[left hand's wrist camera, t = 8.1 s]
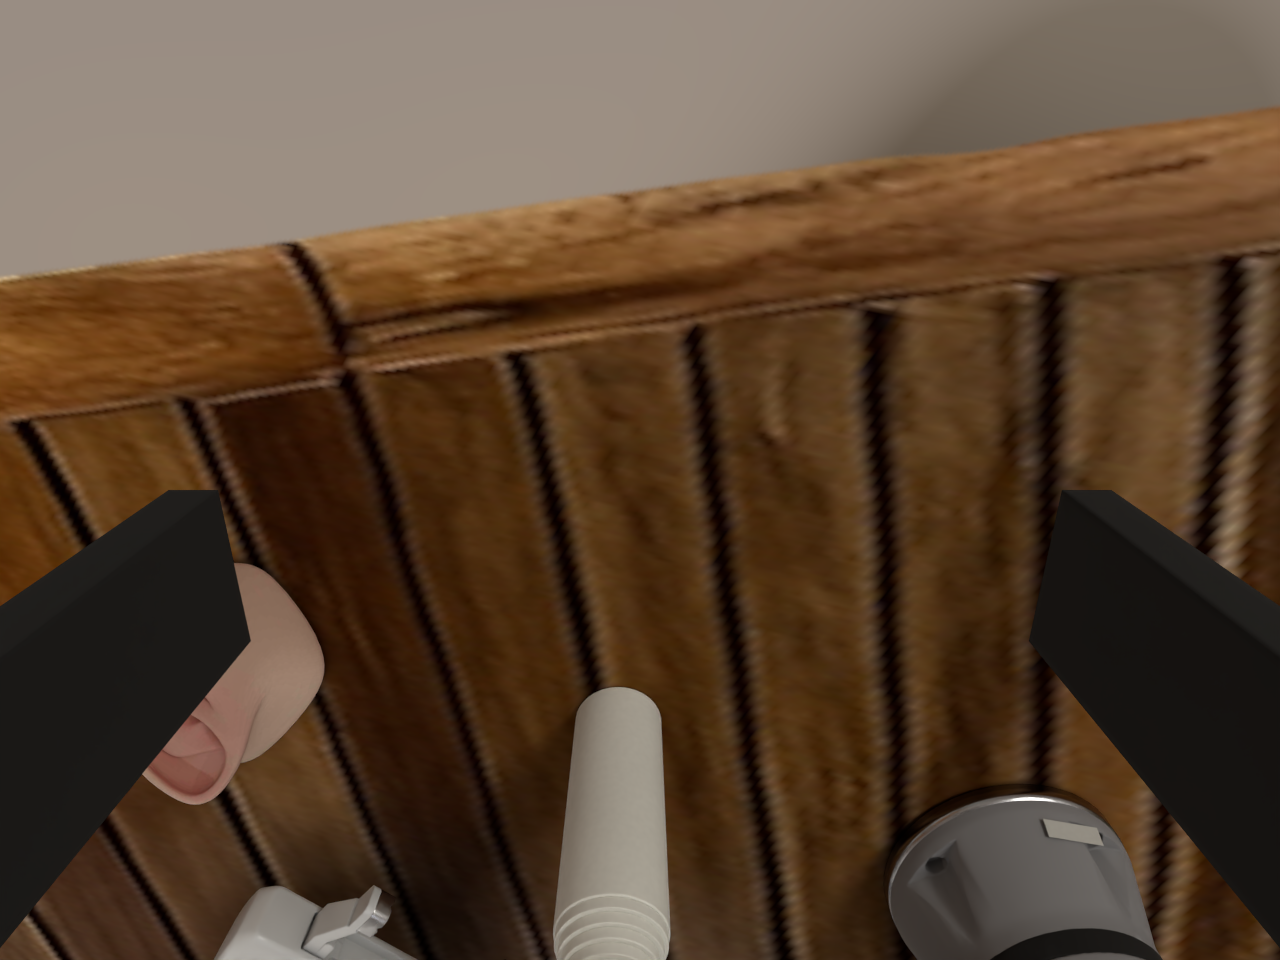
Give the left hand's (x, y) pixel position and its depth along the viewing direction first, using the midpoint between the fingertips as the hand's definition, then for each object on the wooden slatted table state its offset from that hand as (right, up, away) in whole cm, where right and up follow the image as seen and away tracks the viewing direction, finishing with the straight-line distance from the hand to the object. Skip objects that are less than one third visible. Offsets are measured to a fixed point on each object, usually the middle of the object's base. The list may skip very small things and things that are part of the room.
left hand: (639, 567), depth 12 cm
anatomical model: (-24, -9, +33) cm, 42 cm away
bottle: (-1, -13, +35) cm, 37 cm away
